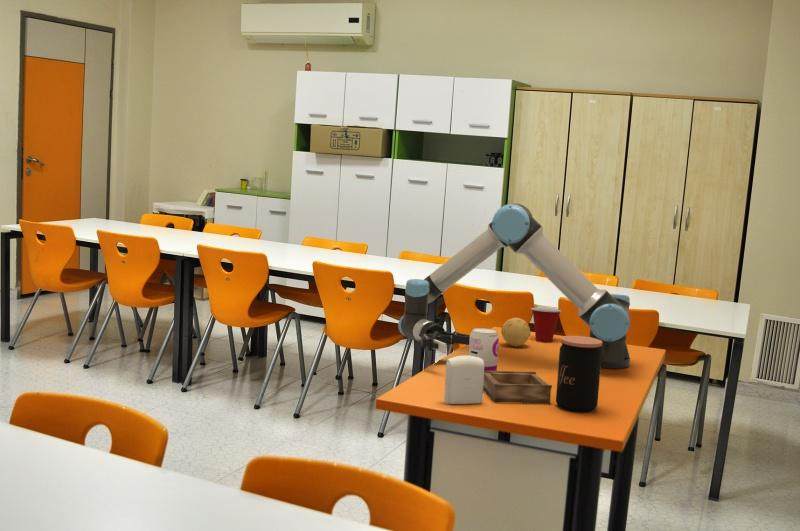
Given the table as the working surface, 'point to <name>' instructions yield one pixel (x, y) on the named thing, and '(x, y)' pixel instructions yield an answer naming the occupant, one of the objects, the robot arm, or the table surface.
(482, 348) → the supplement can
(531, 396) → the crate
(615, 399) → the table surface
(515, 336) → the stress ball
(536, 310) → the plastic cup
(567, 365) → the coffee jar
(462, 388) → the white rounded block
